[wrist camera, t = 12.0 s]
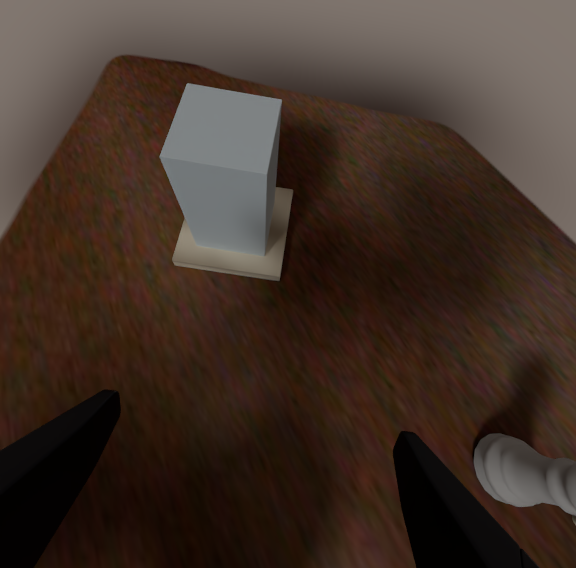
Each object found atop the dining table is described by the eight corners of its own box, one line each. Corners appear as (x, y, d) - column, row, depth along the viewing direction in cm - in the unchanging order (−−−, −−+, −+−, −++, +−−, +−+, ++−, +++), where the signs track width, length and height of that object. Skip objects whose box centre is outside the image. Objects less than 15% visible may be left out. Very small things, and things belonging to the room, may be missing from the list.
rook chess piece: (467, 427, 23) (566, 441, 15) (523, 437, 23) (649, 455, 16) (471, 496, 21) (585, 549, 14) (532, 506, 21) (677, 563, 14)
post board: (279, 281, 26) (283, 258, 22) (175, 265, 26) (158, 239, 21) (292, 196, 29) (297, 162, 25) (200, 181, 29) (189, 144, 25)
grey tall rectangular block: (264, 256, 26) (266, 174, 16) (196, 245, 25) (159, 156, 16) (274, 200, 28) (281, 99, 18) (212, 190, 27) (187, 83, 18)
